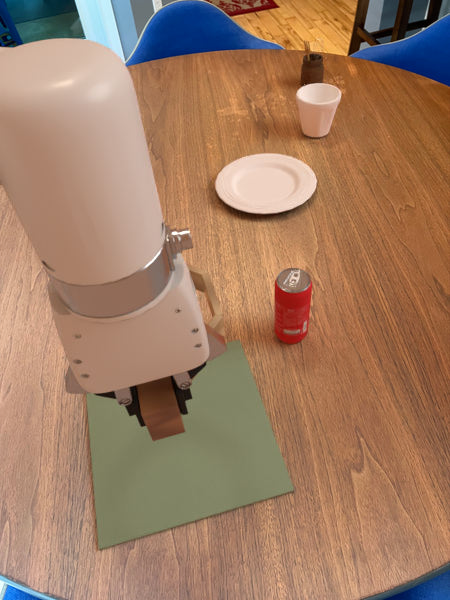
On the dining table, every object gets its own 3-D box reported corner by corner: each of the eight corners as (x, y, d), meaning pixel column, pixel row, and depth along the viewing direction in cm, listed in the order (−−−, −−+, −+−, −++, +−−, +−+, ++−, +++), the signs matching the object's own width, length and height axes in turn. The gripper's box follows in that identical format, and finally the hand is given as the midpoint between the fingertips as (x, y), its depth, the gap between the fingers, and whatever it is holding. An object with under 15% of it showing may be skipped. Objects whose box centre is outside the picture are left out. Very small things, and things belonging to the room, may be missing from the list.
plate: (300, 154, 107) (300, 146, 106) (329, 210, 93) (330, 202, 92) (208, 168, 106) (208, 161, 104) (224, 228, 92) (224, 220, 91)
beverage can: (269, 341, 74) (269, 288, 65) (279, 316, 77) (281, 263, 68) (302, 350, 72) (307, 297, 63) (311, 324, 75) (316, 270, 66)
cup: (340, 142, 109) (344, 102, 102) (296, 144, 110) (297, 105, 103) (334, 119, 116) (338, 81, 109) (292, 122, 116) (294, 84, 109)
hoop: (81, 462, 42) (62, 437, 38) (69, 294, 55) (54, 263, 52) (253, 412, 44) (251, 384, 40) (201, 262, 57) (196, 230, 54)
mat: (99, 550, 56) (98, 549, 55) (85, 380, 71) (84, 379, 71) (294, 491, 59) (294, 490, 58) (239, 340, 74) (239, 339, 74)
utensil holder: (327, 82, 129) (331, 35, 120) (312, 91, 126) (316, 43, 117) (309, 77, 132) (312, 30, 123) (295, 85, 129) (297, 38, 120)
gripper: (221, 199, 33) (236, 351, 47) (-18, 254, 31) (70, 396, 45) (254, 272, 28) (260, 417, 42) (-28, 342, 27) (75, 471, 40)
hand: (161, 405), depth 44 cm, fingers closed on hoop, 3 cm apart
